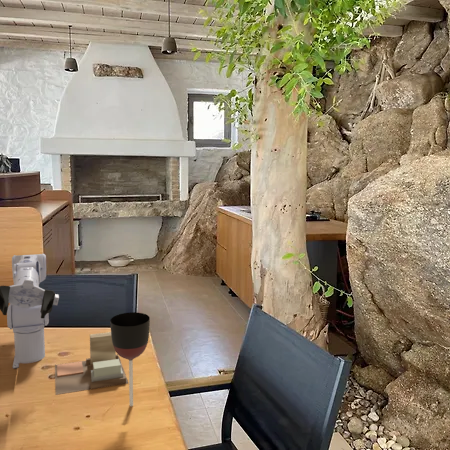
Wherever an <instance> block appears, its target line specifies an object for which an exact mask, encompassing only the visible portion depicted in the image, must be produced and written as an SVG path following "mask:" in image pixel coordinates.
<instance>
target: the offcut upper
mask: <svg viewBox="0 0 450 450" xmlns="http://www.w3.org/2000/svg"><path fill="white" fill-rule="evenodd" d="M120 361H121V360H120ZM120 361H119V359H114V360H107V361H100V362H93V372H94V377H98V376H105V375H112V374H118V373H121V364H120Z"/></svg>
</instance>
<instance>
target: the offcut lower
mask: <svg viewBox="0 0 450 450" xmlns="http://www.w3.org/2000/svg"><path fill="white" fill-rule="evenodd" d="M121 377H123V371H122V368H121V373H118V374H112V375H105V376H98V377H94V372H93V370H91V380H92V382H95V381H101V380H108V379H115V378H121Z"/></svg>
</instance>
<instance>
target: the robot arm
mask: <svg viewBox="0 0 450 450" xmlns="http://www.w3.org/2000/svg"><path fill="white" fill-rule="evenodd" d="M11 269H12V270H11V271H12V280H13V281H12V282H13V284H12V285H0V311H1V313H2V316H6V320H7V328H9V330H12V333H13V339H14V358H13V363H12V369H18V368H19V367H20V364H32V363H36V362H39V361H42V360H43V359H44V358H45V357H46V347H45V346H46V344H45V326H46V327H47V326H48V325H49V322H50V319H49V318H50V317H49V315H50V313H51V312H52V311H53V306H58V304H59V299H60V294H58V293H57V294H56V292H55V291H54V290H52V289H51V290H50V289H44V288H42V287H40V283H42V282H44V281H45V280H46V278H47V255H46V254H45V253H39V254H23V255H22V254H21V255H19V254H18V255H15V254H13V256H12V257H11Z"/></svg>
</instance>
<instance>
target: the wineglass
mask: <svg viewBox="0 0 450 450" xmlns="http://www.w3.org/2000/svg"><path fill="white" fill-rule="evenodd" d="M150 321H151V320H150V316H149V315H148V314H146V313H143V312H134V311H133V312H123V313H120V314H119V313H118V314H115V315H114V316H112V317H111V318H110V321H109V322H110V332H111V337H112V343H113V347H114V349H115V351H116V355H118V356H119V357H121V358H122V359H125V360H128V374H129V375H128V384H129V385H128V387H129V391H128V393H129V394H128V395H129V406H130V407H133V406H134V374H133V372H134V371H133V370H134V369H133V368H134V367H133V365H134V364H133V360H134V359H136V358H138V357H140V356H141V355H142V354H143V353H144V352H145V350H146V348H147V346H148V344H149V338H150V324H151V322H150Z"/></svg>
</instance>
